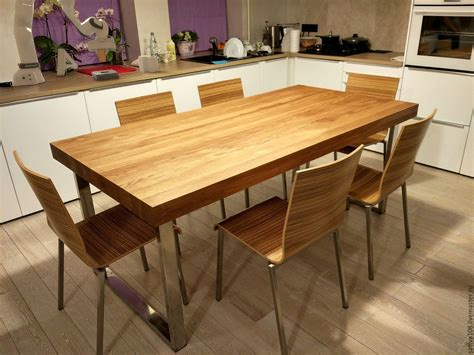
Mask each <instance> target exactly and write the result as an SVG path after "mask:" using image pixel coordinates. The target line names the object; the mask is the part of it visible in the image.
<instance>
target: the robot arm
mask: <svg viewBox="0 0 474 355" xmlns="http://www.w3.org/2000/svg"><path fill="white" fill-rule="evenodd" d="M56 1H57V2H58V3H59V5H60V6H61V9H62V10H61V11H62V12H63V14H64V16H66V18H67V19H68V20H69V21H70V23H71V24H72V25H73V27H74V28H75V29H76V31H77V32H78V35H80V37H83V38H85V39H89V38H90V37H91V36H92V35H94V34H95V39H90V40H88V41H87V50H88V52H90V53H91V52H95V53H96V56H98V57H99V55H98V50H105V52H104V55H105V56H108V55H107V54H108V53H109V52H111V51H112V52H115V51H117V46H116V42H115V39H114V37H113V35H112V36H111V35H109V24H108V22H107V21H106V20H104V19H101V18H100V19H98V18H97V17H94V16H90V17H88V18H86V19H85V21H83V22H81V20H80V19H79V18H78V17H77V16H76V15H75V13H74V7H75V5H76V0H56ZM34 4H35V0H15V5H14V21H13V35H14V39H15V43H16V47H17V48H16V49H17V51H18V55H19V59H20V63H17V66H18V70H17V71H16V72H14V73H13V75H12V81H11V82H12V85H11V86H12V87H13V86H14V87H19V86H29V85H31V86H32V85H38V84H41V83H44V82H45V81H46V80H45V78H44V76H43V74H42V71H41V64H40V62H39V61H38V60H39V59H38V56H37V51H36V50H37V49H36V45H35V42H34V41H35V40H34V36H33V32H32V29H33V20H34Z"/></svg>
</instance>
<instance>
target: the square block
mask: <svg viewBox="0 0 474 355" xmlns="http://www.w3.org/2000/svg"><path fill="white" fill-rule="evenodd" d="M104 52H106V51H105V50H98V55H99V56H98V60H99V63H101V62H103V63H104V62H107V59H106V55H104Z"/></svg>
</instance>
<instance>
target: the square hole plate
mask: <svg viewBox="0 0 474 355" xmlns="http://www.w3.org/2000/svg"><path fill="white" fill-rule="evenodd" d="M91 75H92V76H91V77H92V78H93V79H94V80H95V81H104V80H114V79H119V78H120V76H119V72H118V71H116V70H114V69H106V70H95V71H91Z"/></svg>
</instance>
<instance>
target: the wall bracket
mask: <svg viewBox="0 0 474 355" xmlns="http://www.w3.org/2000/svg"><path fill="white" fill-rule="evenodd" d="M66 62H67V63H69V64H67V63H66ZM69 67H70V68H71V69H73V70H72V71H74V70H77V69H78V68H79V65H78V64H77V63H76V61H74V58H72V57H71V56H70V54H69V53H68V51H67V50H65V48H57V68H56V69H57V71H56V72H57V73H56V75H57V76H58V77H62V76H65V74H66V70H68V68H69Z"/></svg>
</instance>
